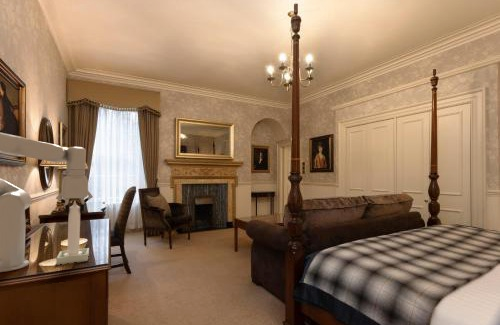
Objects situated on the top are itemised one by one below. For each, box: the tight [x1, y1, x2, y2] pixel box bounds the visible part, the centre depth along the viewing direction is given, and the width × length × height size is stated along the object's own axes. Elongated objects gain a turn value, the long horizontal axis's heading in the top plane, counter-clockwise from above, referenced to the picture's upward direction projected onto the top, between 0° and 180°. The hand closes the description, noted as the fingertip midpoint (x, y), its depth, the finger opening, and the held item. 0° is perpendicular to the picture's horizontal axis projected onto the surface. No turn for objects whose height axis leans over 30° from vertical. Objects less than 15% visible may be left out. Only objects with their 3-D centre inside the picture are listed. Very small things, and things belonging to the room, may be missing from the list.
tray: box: [55, 247, 90, 266], centre depth 123 cm, size 12×12×3 cm
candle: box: [64, 200, 82, 257], centre depth 123 cm, size 7×7×25 cm
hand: (74, 212), depth 123 cm, fingers closed on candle, 4 cm apart
